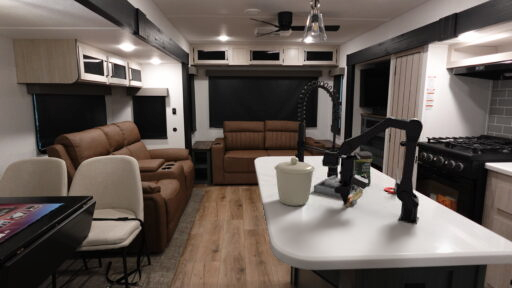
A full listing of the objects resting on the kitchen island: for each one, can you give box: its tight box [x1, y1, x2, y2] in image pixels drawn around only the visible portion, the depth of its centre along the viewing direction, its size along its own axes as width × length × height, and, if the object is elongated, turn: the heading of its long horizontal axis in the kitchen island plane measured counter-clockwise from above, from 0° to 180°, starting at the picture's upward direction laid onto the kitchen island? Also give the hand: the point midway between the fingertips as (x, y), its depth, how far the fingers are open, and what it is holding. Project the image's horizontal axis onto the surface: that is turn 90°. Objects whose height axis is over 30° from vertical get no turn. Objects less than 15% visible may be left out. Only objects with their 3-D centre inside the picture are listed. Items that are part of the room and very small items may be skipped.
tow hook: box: [383, 168, 399, 195], centre depth 146 cm, size 8×13×9 cm
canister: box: [273, 156, 315, 207], centre depth 130 cm, size 18×18×21 cm
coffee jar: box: [353, 151, 373, 187], centre depth 157 cm, size 10×8×19 cm
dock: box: [313, 179, 358, 207], centre depth 142 cm, size 23×23×4 cm
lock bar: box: [344, 189, 364, 208], centre depth 133 cm, size 20×2×4 cm, turn 144°
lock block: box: [324, 175, 342, 189], centre depth 146 cm, size 10×7×7 cm
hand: (345, 203), depth 124 cm, fingers closed
